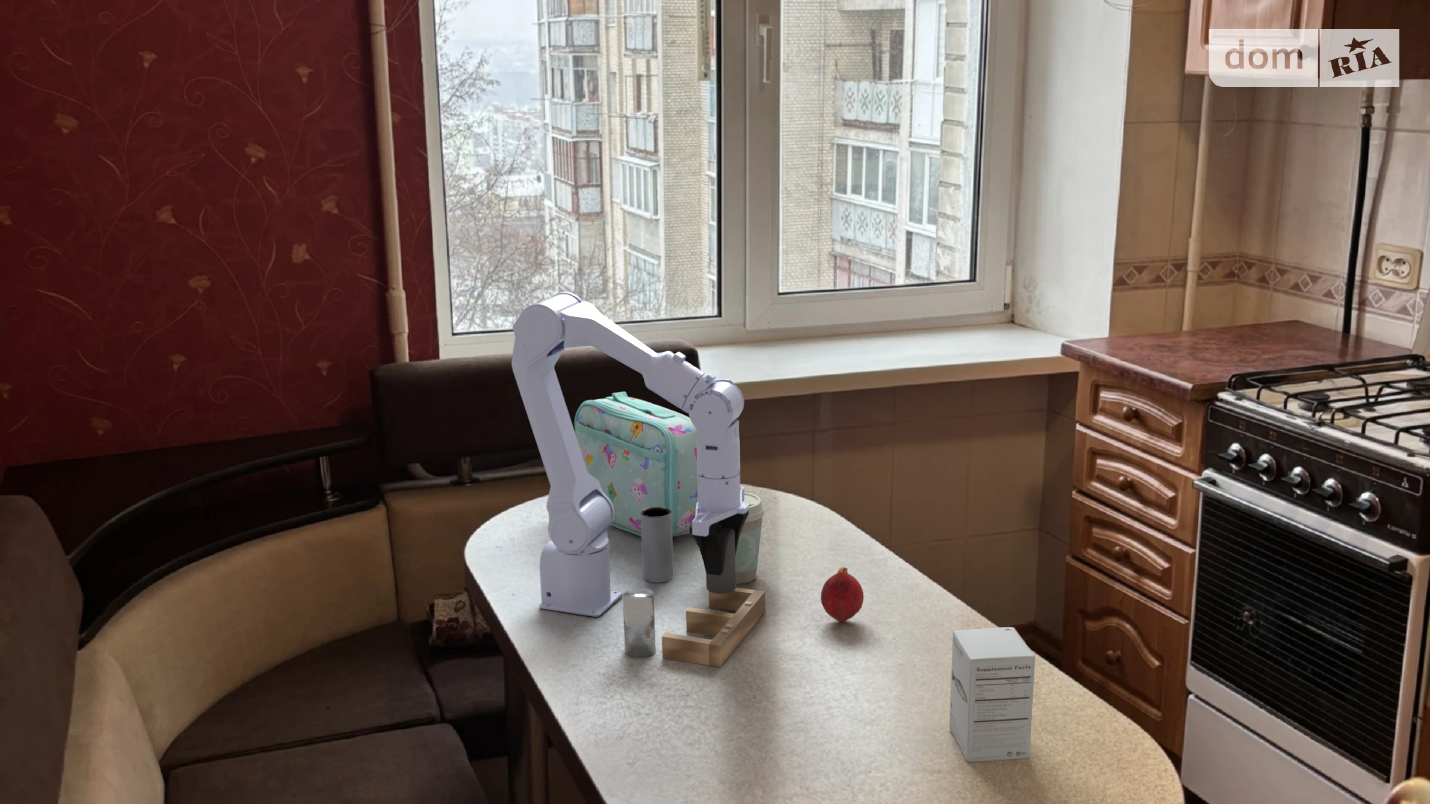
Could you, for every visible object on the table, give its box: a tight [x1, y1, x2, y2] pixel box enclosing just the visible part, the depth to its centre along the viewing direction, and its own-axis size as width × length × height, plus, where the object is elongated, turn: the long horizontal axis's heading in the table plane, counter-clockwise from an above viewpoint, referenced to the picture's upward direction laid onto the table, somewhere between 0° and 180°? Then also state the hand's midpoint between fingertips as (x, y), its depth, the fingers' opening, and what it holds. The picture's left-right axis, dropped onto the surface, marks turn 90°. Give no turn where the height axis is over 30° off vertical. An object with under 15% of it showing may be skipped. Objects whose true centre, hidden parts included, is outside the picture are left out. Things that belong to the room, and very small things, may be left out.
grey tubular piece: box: [641, 507, 674, 583], centre depth 188 cm, size 4×4×10 cm
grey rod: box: [622, 588, 656, 659], centre depth 165 cm, size 4×4×8 cm
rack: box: [661, 586, 766, 668], centre depth 170 cm, size 8×18×3 cm, turn 159°
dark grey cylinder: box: [705, 530, 737, 594], centre depth 172 cm, size 4×4×8 cm
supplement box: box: [948, 626, 1036, 763], centre depth 141 cm, size 7×7×13 cm
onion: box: [820, 565, 865, 623], centre depth 172 cm, size 6×6×8 cm
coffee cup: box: [735, 492, 766, 585], centre depth 187 cm, size 8×8×12 cm
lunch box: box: [573, 391, 698, 538], centre depth 208 cm, size 27×10×21 cm, turn 43°
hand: (720, 567), depth 172 cm, fingers closed on dark grey cylinder, 4 cm apart
